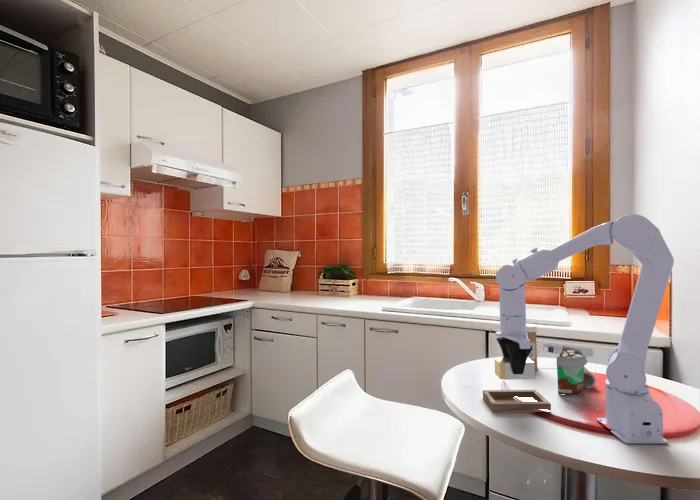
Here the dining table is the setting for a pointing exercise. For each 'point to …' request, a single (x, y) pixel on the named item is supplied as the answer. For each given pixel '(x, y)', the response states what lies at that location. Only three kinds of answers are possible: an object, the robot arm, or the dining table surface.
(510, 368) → the white yellow block
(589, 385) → the coil
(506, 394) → the wooden tray
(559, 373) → the food container
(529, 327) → the sprinkles bottle
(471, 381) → the dining table surface
